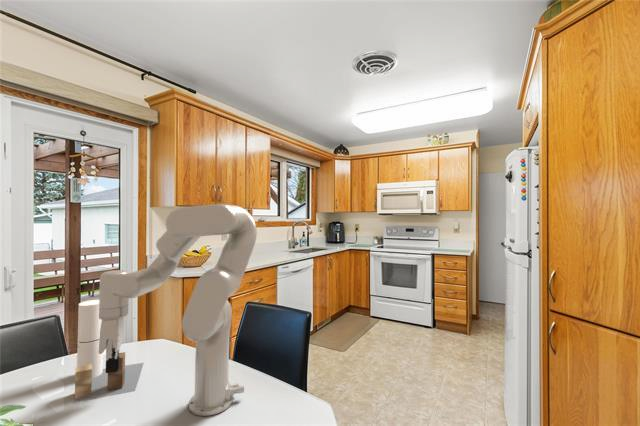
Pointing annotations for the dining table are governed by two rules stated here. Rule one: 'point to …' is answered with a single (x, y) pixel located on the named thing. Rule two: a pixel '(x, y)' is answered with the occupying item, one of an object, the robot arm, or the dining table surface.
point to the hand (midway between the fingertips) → (112, 370)
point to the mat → (129, 386)
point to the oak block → (83, 381)
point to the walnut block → (117, 375)
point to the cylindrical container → (89, 337)
